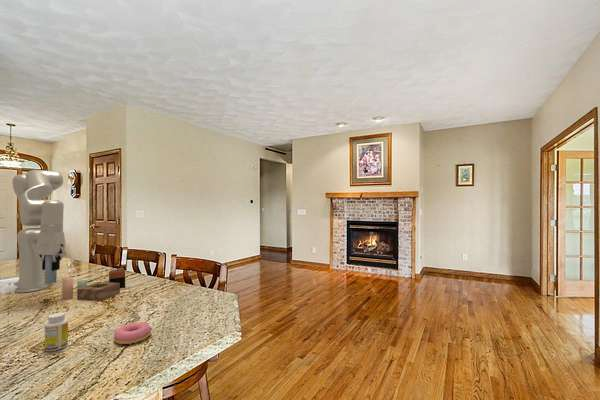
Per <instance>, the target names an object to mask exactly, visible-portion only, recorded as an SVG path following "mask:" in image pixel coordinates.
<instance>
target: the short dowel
mask: <svg viewBox="0 0 600 400" xmlns="http://www.w3.org/2000/svg"><path fill="white" fill-rule="evenodd" d="M87 285H88V280H86V279H82V280H78V281H77V283H76V290H77V289H78V288H81V287H84V286H87Z"/></svg>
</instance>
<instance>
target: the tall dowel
mask: <svg viewBox="0 0 600 400" xmlns="http://www.w3.org/2000/svg"><path fill="white" fill-rule="evenodd" d="M56 257H57V256H56ZM52 262H54V261H53V256H52V255H45V270H44V284H47V285H48V284H49V285H50V284H56V283H57V277H58V275H57V274H58V273H57V271H58V270H55V271H52Z"/></svg>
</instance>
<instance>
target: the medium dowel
mask: <svg viewBox="0 0 600 400" xmlns="http://www.w3.org/2000/svg"><path fill="white" fill-rule="evenodd" d="M61 281H62V284H61V300H63V301H64V300H65V301H66V300H72V299H74V278H73V277H67V278H63V279H61Z"/></svg>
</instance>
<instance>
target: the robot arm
mask: <svg viewBox="0 0 600 400" xmlns="http://www.w3.org/2000/svg"><path fill="white" fill-rule="evenodd" d="M63 183H64V177H63V175H62V173H61V172H59V171H57V170H44V169H31V170H29V171H27V172H26V173H22V174H16V175H14V176H13V178H12V189H13V191H14V192H13V193H14V194H15V196H16V198H17V200H18V204H19V207H18V208H19V220H20V223H21V225H22V226H25V227H28V228H22V229H21V230H19V231H18V233H17V236H16V238H17V245H18V252H19V253H18V254H19V257H18V265H19V266H18V280H17V281H16V282H14V283H13V285H14V286H16V288H14V293H19V294H20V293H24V294H25V293H31V292H37V291H41V290H45V289H47V288H48V286H49V285H48V284H45V255H52V256H53V261H54V262H52V271H55V270H57V271H58V270H60V268H61V267H60V266H61V264H60V263H61V262H60V261H62V259H63V258H65V256H67V251H66V240H65V239H66V238H65V233H64V211H65V210H64V209H65V206H64V205H65V204H64V203H63V201H60V200H57V199H46V198H48V197H50V196H52V194H53V192H54V191H56V190H58V189H60V188H61V187H62V186H63ZM30 227H31V228H30ZM56 256H57V257H56Z"/></svg>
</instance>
